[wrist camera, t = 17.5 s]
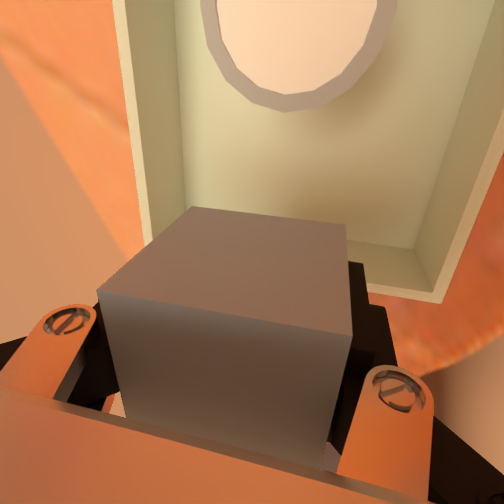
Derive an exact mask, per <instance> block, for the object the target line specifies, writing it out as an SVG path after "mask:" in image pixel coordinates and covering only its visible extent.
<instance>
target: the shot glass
mask: <svg viewBox="0 0 504 504" xmlns="http://www.w3.org/2000/svg"><path fill="white" fill-rule="evenodd" d="M397 2H398V0H200V8H201V14H202V20H203V25H204V31H205V37H206V43H207V47H208V49H209V51H210V53H211V55H212V56H213V58H214V60H215V62H216V64H217V66H218V68H219V69H220V71H221V73H222V75H223V77H224V79H225V80H226V81H227V82H228V83H229V84H230V85H231V86H232V87H234V88H235V89H236V90H237V91H238V92H240V93H241V94H242V95H243V96H244V97H245V98H247V99H248V100H249V101H250V102H251V103H253V104H257V105H260V106H263V107H267V108H270V109H273V110H277V111H280V112H283V113H285V112H292V111H299V110H307V109H314V108H319V107H320V106H322V105H324V104H325V103H327V102H329V101H331V100H332V99H334V98H336V97H337V96H339V95H341V94H342V93H344V92H346V91H347V90H349V89H351V88H352V87H353V86H354V84H355V83H356V82H357V81H358V79H359V78H360V77H361V76H362V75H363V73H364V72H365V71H366V70H367V68H368V67H369V66H370V65H371V64H372V62H373V61H374V60H375V59H376V57H377V56H378V55H379V54H380V51H381V48H382V46H383V43H384V41H385V38H386V35H387V33H388V30H389V28H390V25H391V22H392V20H393V17H394V15H395V12H396V9H397Z"/></svg>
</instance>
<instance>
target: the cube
mask: <svg viewBox="0 0 504 504" xmlns="http://www.w3.org/2000/svg"><path fill="white" fill-rule="evenodd" d="M97 295H98V299H99V303H100V308H101V312H102V316H103V321H104V325H105V329H106V333H107V338H108V342H109V346H110V351H111V355H112V359H113V363H114V368H115V372H116V376H117V381H118V385H119V389H120V393H121V398H122V402H123V406H124V411H125V415H126V418H128V419H132V420H135V421H139V422H143V423H147V424H151V425H155V426H159V427H162V428H166V429H170V430H174V431H178V432H182V433H185V434H189V435H193V436H197V437H201V438H205V439H208V440H212V441H216V442H220V443H224V444H227V445H231V446H235V447H239V448H242V449H246V450H250V451H254V452H257V453H261V454H265V455H269V456H272V457H276V458H280V459H284V460H287V461H291V462H295V463H299V464H302V465H306V466H310V467H314V468H317V469H320V466H321V462H322V458H323V454H324V450H325V446H326V442H327V438H328V434H329V430H330V426H331V422H332V418H333V414H334V409H335V405H336V401H337V397H338V393H339V389H340V385H341V381H342V377H343V373H344V369H345V365H346V361H347V357H348V353H349V349H350V345H351V341H352V337H353V334H352V318H351V302H350V287H349V271H348V255H347V239H346V225H344V224H336V223H328V222H320V221H311V220H303V219H295V218H287V217H278V216H270V215H262V214H254V213H246V212H237V211H229V210H221V209H213V208H204V207H196V206H191V207H190V208H189V209H188V210H187V211H185V212H184V213H183V214H182V215H181V216H180V217H179V218H178V219H176V220H175V221H174V222H173V223H172V224H171V225H170V226H168V227H167V228H166V229H165V230H164V231H163V232H162V233H160V234H159V235H158V236H157V237H156V238H155V239H154V240H153V241H151V242H150V243H149V244H148V245H147V246H146V247H145V248H143V249H142V250H141V251H140V252H139V253H138V254H137V255H135V256H134V257H133V258H132V259H131V260H130V261H129V262H128V263H126V264H125V265H124V266H123V267H122V268H121V269H120V270H118V271H117V272H116V273H115V274H114V275H113V276H112V277H111V278H109V279H108V280H107V281H106V282H105V283H104V284H103V285H101V286H100V287H99V288H98V289H97Z"/></svg>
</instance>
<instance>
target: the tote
mask: <svg viewBox="0 0 504 504" xmlns="http://www.w3.org/2000/svg"><path fill="white" fill-rule="evenodd" d="M112 4H113V12H114V19H115V27H116V34H117V42H118V49H119V57H120V64H121V72H122V79H123V87H124V94H125V102H126V109H127V117H128V124H129V132H130V139H131V147H132V154H133V162H134V170H135V177H136V185H137V192H138V200H139V207H140V215H141V222H142V230H143V237H144V245H145V247H146V246H147V245H148V244H149V243H150V242H151V241H153V240H154V239H155V238H156V237H157V236H158V235H159V234H160V233H162V232H163V231H164V230H165V229H166V228H167V227H168V226H170V225H171V224H172V223H173V222H174V221H175V220H176V219H178V218H179V217H180V216H181V215H182V214H183V213H184V212H185V211H187V210H188V209H189V208H190V207H191V206H196V207H204V208H213V209H221V210H229V211H237V212H246V213H254V214H262V215H270V216H278V217H287V218H295V219H303V220H311V221H320V222H328V223H336V224H344V225H346V239H347V255H348V261H352V262H359V263H363V265H364V272H365V279H366V286H367V292H371V293H377V294H383V295H389V296H395V297H401V298H407V299H413V300H419V301H425V302H431V303H438V304H441V303H442V301H443V298H444V296H445V293H446V291H447V288H448V286H449V284H450V281H451V279H452V276H453V274H454V271H455V269H456V267H457V264H458V262H459V259H460V257H461V254H462V252H463V249H464V247H465V245H466V242H467V240H468V237H469V235H470V232H471V230H472V228H473V225H474V223H475V220H476V218H477V215H478V213H479V211H480V208H481V206H482V203H483V201H484V198H485V196H486V193H487V191H488V189H489V186H490V184H491V181H492V179H493V176H494V174H495V172H496V169H497V167H498V164H499V162H500V159H501V157H502V155H503V152H504V0H398V2H397V9H396V12H395V15H394V17H393V20H392V22H391V25H390V28H389V30H388V33H387V35H386V38H385V41H384V43H383V46H382V48H381V51H380V54H379V55H378V56H377V57H376V59H375V60H374V61H373V62H372V64H371V65H370V66H369V67H368V68H367V70H366V71H365V72H364V73H363V75H362V76H361V77H360V78H359V79H358V81H357V82H356V83H355V84H354V86H353V87H352V88H351V89H349V90H347V91H346V92H344V93H342V94H341V95H339V96H337V97H336V98H334V99H332V100H331V101H329V102H327V103H325V104H324V105H322V106H320V107H319V108H314V109H307V110H299V111H292V112H285V113H283V112H280V111H277V110H273V109H270V108H267V107H263V106H260V105H257V104H253V103H251V102H250V101H249V100H248V99H247V98H245V97H244V96H243V95H242V94H241V93H240V92H238V91H237V90H236V89H235V88H234V87H232V86H231V85H230V84H229V83H228V82H227V81H226V80H225V79H224V77H223V75H222V73H221V71H220V69H219V68H218V66H217V64H216V62H215V60H214V58H213V56H212V55H211V53H210V51H209V49H208V47H207V43H206V37H205V31H204V25H203V20H202V14H201V8H200V0H112Z"/></svg>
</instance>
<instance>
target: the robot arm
mask: <svg viewBox="0 0 504 504" xmlns="http://www.w3.org/2000/svg"><path fill="white" fill-rule="evenodd" d="M348 271H349V287H350V302H351V318H352V334H353V337H352V341H351V345H350V349H349V353H348V357H347V361H346V365H345V369H344V373H343V377H342V381H341V385H340V389H339V393H338V397H337V401H336V405H335V409H334V414H333V418H332V422H331V426H330V430H329V434H328V438H327V442H330V443H331V444H332V445H333V447H334V448H335V449H336V450H337V451H338V453H339V454H340V455H341V459H340V463H339V466H338V469H337V472H336V474H335V473H332V472H328V471H325V470H321V469H317V468H314V467H310V466H306V465H302V464H299V463H295V462H291V461H287V460H284V459H280V458H276V457H272V456H269V455H265V454H261V453H257V452H254V451H250V450H246V449H242V448H239V447H235V446H231V445H227V444H224V443H220V442H216V441H212V440H208V439H205V438H201V437H197V436H193V435H189V434H185V433H182V432H178V431H174V430H170V429H166V428H162V427H159V426H155V425H151V424H147V423H143V422H139V421H135V420H132V419H128V418H124V417H120V416H116V415H112V414H109V411H110V409H111V406H112V403H113V400H114V396H115V393H117V392H119V391H120V389H119V385H118V381H117V376H116V372H115V368H114V363H113V359H112V355H111V351H110V346H109V342H108V338H107V333H106V329H105V325H104V321H103V316H102V312H101V308H100V303H99V302H98V303H97V304H96V305H95V306H94V307H93V308H92V307H90V306H87V305H82V304H74V305H68V306H64V307H60V308H58V309H55V310H53V311H51V312H50V313H48V314H46V315H45V316H44V317H43V318H42V319H41V320H40V321H39V322H38V323H37V325H36V326H35V327H34V329H33V330H32V331H31V333H30V334H29V335H28V336H26V337H23V338H20V339H16V340H13V341H10V342H6V343H3V344H0V504H504V475H503V474H502V473H501V472H499V471H498V470H497V469H496V468H495V467H494V466H492V465H491V464H490V463H489V462H488V461H487V460H485V459H484V458H483V457H482V456H481V455H479V454H478V453H477V452H476V451H475V450H474V449H472V448H471V447H470V446H469V445H468V444H466V443H465V442H464V441H463V440H462V439H461V438H459V437H458V436H457V435H456V434H455V433H454V432H452V431H451V430H450V429H449V428H448V427H446V426H445V425H444V424H443V423H442V422H441V421H439V420H438V419H437V418H436V417H435V416H433V412H434V402H433V396H432V394H431V392H430V390H429V388H428V387H427V386H426V385H425V384H424V383H423V382H422V380H421V379H419V378H418V377H417V376H415V375H414V374H413V373H411V372H409V371H407V370H405V369H403V368H400V367H398V365H397V360H396V355H395V351H394V346H393V341H392V337H391V332H390V327H389V323H388V318H387V313H386V309H385V307H383V306H377V305H371V304H369V299H368V293H367V286H366V279H365V272H364V265H363V263H359V262H352V261H348ZM98 301H99V299H98Z"/></svg>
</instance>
